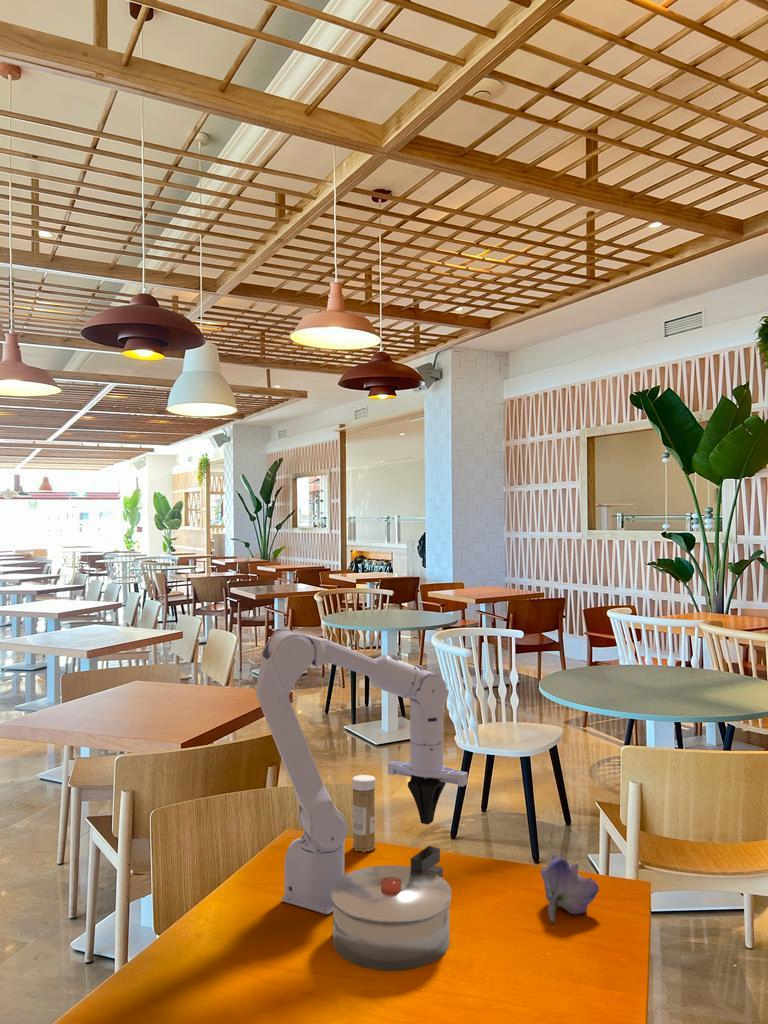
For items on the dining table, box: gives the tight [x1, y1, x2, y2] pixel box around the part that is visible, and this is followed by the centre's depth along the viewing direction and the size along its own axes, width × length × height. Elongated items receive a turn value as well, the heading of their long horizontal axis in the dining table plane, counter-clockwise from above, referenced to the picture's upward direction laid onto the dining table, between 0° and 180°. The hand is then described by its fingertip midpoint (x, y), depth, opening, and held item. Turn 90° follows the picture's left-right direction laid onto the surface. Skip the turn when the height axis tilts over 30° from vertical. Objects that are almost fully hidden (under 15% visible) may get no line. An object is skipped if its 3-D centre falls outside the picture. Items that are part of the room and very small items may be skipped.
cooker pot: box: [332, 864, 450, 972], centre depth 112 cm, size 23×17×6 cm
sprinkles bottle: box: [351, 774, 377, 852], centre depth 144 cm, size 5×5×13 cm
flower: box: [540, 851, 600, 925], centre depth 117 cm, size 9×9×10 cm
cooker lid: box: [331, 845, 452, 924], centre depth 112 cm, size 22×18×3 cm
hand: (427, 822), depth 128 cm, fingers closed
